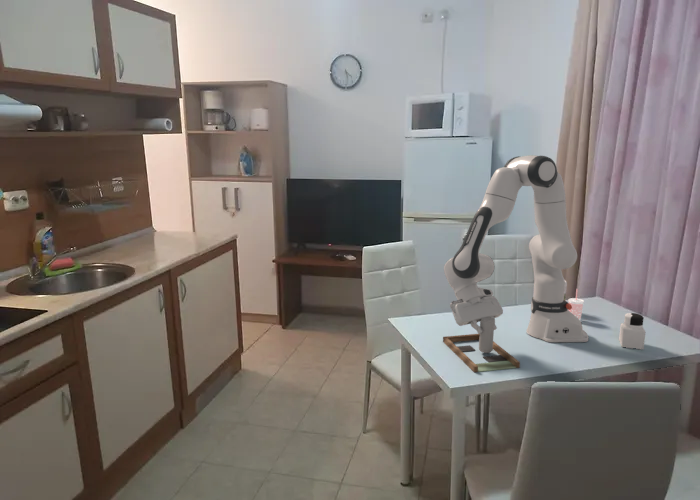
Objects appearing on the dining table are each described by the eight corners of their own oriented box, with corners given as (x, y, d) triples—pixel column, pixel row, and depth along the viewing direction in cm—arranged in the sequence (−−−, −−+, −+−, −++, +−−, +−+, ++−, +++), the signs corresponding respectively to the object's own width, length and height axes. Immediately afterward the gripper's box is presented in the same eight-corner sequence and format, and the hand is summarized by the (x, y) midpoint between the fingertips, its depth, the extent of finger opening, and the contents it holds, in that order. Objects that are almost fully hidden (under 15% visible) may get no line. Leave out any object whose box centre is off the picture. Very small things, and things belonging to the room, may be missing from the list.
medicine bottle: (639, 342, 192) (643, 312, 189) (643, 350, 185) (647, 318, 183) (618, 340, 194) (621, 310, 192) (621, 347, 188) (625, 316, 185)
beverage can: (476, 348, 185) (478, 316, 183) (489, 347, 186) (491, 316, 183) (481, 353, 180) (483, 321, 178) (494, 352, 181) (496, 320, 178)
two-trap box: (442, 341, 194) (443, 336, 194) (482, 338, 197) (483, 333, 197) (474, 372, 168) (474, 366, 168) (519, 367, 171) (520, 362, 171)
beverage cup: (570, 317, 221) (572, 285, 218) (584, 320, 216) (587, 288, 213) (564, 320, 216) (566, 288, 213) (578, 324, 212) (581, 291, 209)
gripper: (452, 297, 180) (470, 332, 173) (494, 289, 190) (513, 322, 183) (443, 306, 184) (461, 340, 178) (485, 297, 194) (503, 330, 188)
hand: (488, 331), depth 181 cm, fingers closed on beverage can, 5 cm apart
